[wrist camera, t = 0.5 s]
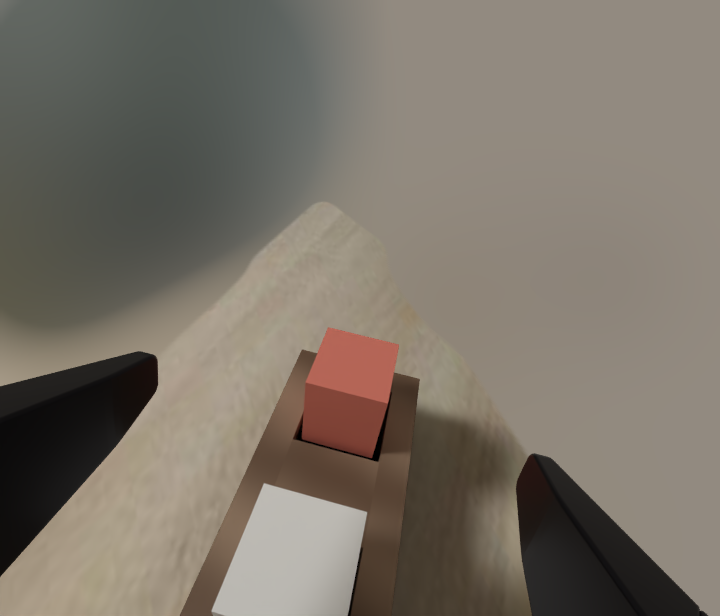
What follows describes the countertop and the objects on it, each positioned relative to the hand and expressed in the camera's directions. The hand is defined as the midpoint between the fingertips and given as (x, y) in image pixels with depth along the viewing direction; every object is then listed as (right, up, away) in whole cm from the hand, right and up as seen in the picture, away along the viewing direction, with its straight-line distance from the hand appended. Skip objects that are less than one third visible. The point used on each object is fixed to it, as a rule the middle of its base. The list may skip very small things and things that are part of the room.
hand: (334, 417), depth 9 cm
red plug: (0, -4, +14) cm, 14 cm away
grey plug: (-2, -9, +7) cm, 12 cm away
